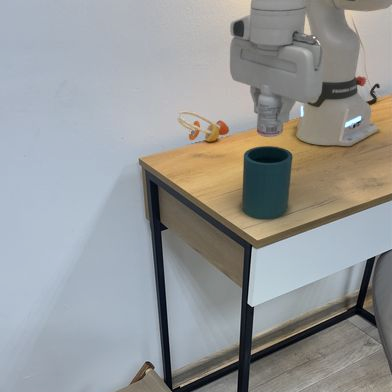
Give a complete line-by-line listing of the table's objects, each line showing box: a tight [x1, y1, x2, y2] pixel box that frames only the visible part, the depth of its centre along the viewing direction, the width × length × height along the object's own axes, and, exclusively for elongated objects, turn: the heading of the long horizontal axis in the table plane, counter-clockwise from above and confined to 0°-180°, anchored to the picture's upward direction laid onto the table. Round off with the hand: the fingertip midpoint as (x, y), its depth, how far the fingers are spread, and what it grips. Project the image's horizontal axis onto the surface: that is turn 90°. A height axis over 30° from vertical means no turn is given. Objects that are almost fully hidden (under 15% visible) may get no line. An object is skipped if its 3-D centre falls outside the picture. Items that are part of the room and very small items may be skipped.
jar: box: [241, 145, 294, 220], centre depth 98 cm, size 9×9×11 cm
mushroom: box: [177, 110, 230, 142], centre depth 130 cm, size 7×8×15 cm
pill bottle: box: [256, 84, 284, 138], centre depth 88 cm, size 5×5×8 cm
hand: (270, 117), depth 89 cm, fingers closed on pill bottle, 5 cm apart
